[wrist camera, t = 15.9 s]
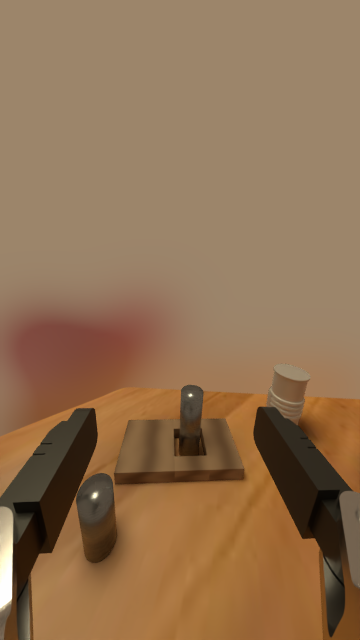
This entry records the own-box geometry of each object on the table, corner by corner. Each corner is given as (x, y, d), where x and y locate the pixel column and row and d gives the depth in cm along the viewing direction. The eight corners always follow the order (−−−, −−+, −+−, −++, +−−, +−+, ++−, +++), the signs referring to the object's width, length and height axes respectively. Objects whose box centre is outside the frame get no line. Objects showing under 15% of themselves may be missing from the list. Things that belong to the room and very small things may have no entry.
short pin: (78, 563, 22) (69, 513, 20) (91, 520, 26) (85, 473, 24) (111, 561, 22) (106, 511, 20) (120, 519, 26) (116, 472, 24)
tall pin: (179, 461, 34) (182, 399, 31) (178, 442, 38) (180, 384, 35) (200, 461, 35) (205, 398, 31) (197, 442, 39) (201, 384, 35)
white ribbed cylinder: (260, 414, 47) (270, 361, 43) (290, 420, 45) (302, 366, 41) (266, 437, 40) (277, 377, 36) (301, 444, 39) (317, 383, 35)
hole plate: (115, 484, 30) (114, 473, 30) (129, 429, 41) (128, 420, 40) (242, 479, 32) (244, 468, 31) (224, 427, 42) (225, 418, 42)
